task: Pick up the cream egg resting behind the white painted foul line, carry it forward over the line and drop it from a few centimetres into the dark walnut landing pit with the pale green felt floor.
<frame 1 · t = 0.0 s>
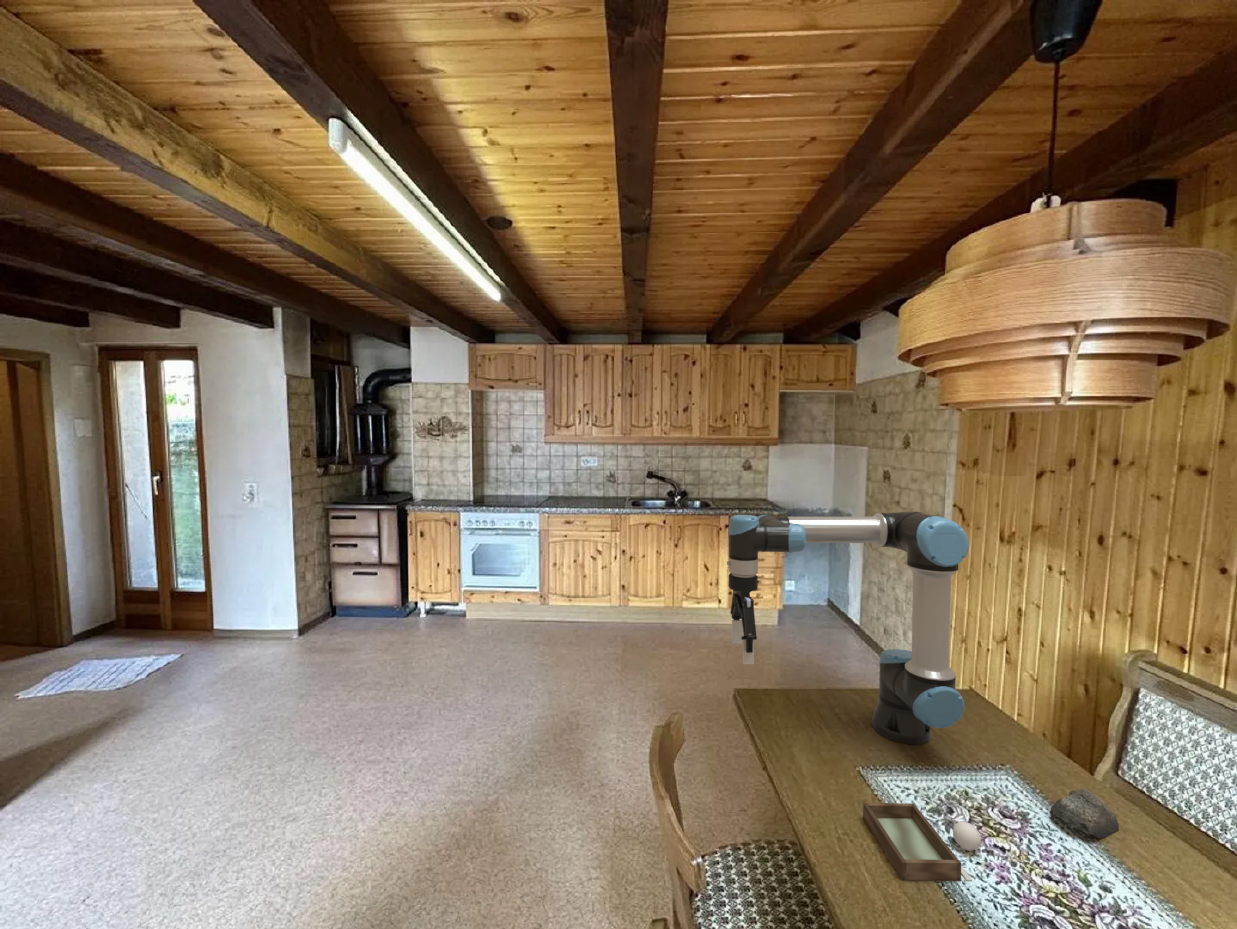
hand: (742, 653, 141), 28 cm above the table, fingers open, 13 cm apart
rock: (1081, 826, 116), on the table
foul line: (943, 847, 110), on the table
cream egg: (966, 849, 110), on the table
pit: (908, 847, 110), on the table
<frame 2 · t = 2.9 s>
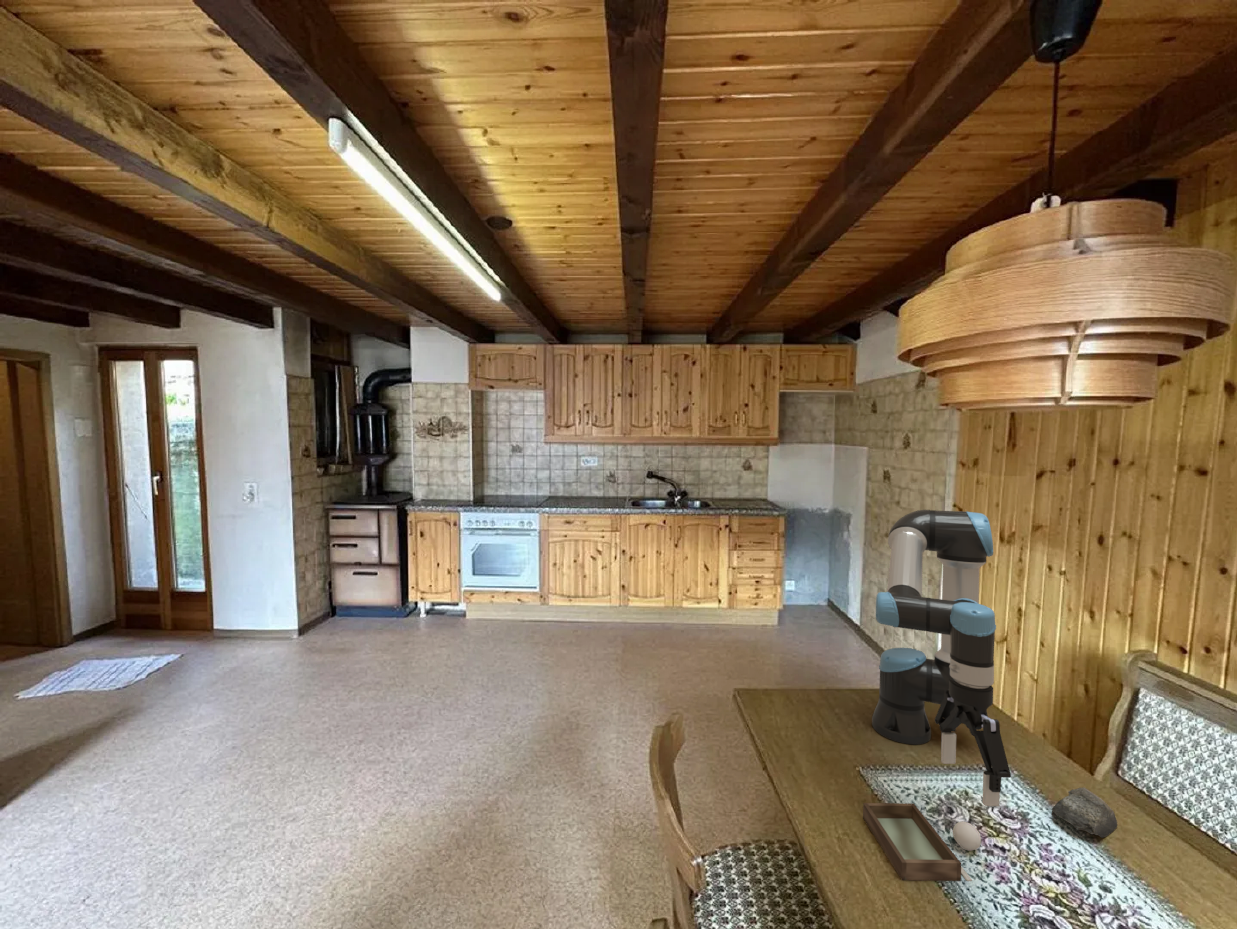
hand: (968, 782, 109), 14 cm above the table, fingers open, 13 cm apart
nothing on the table moved.
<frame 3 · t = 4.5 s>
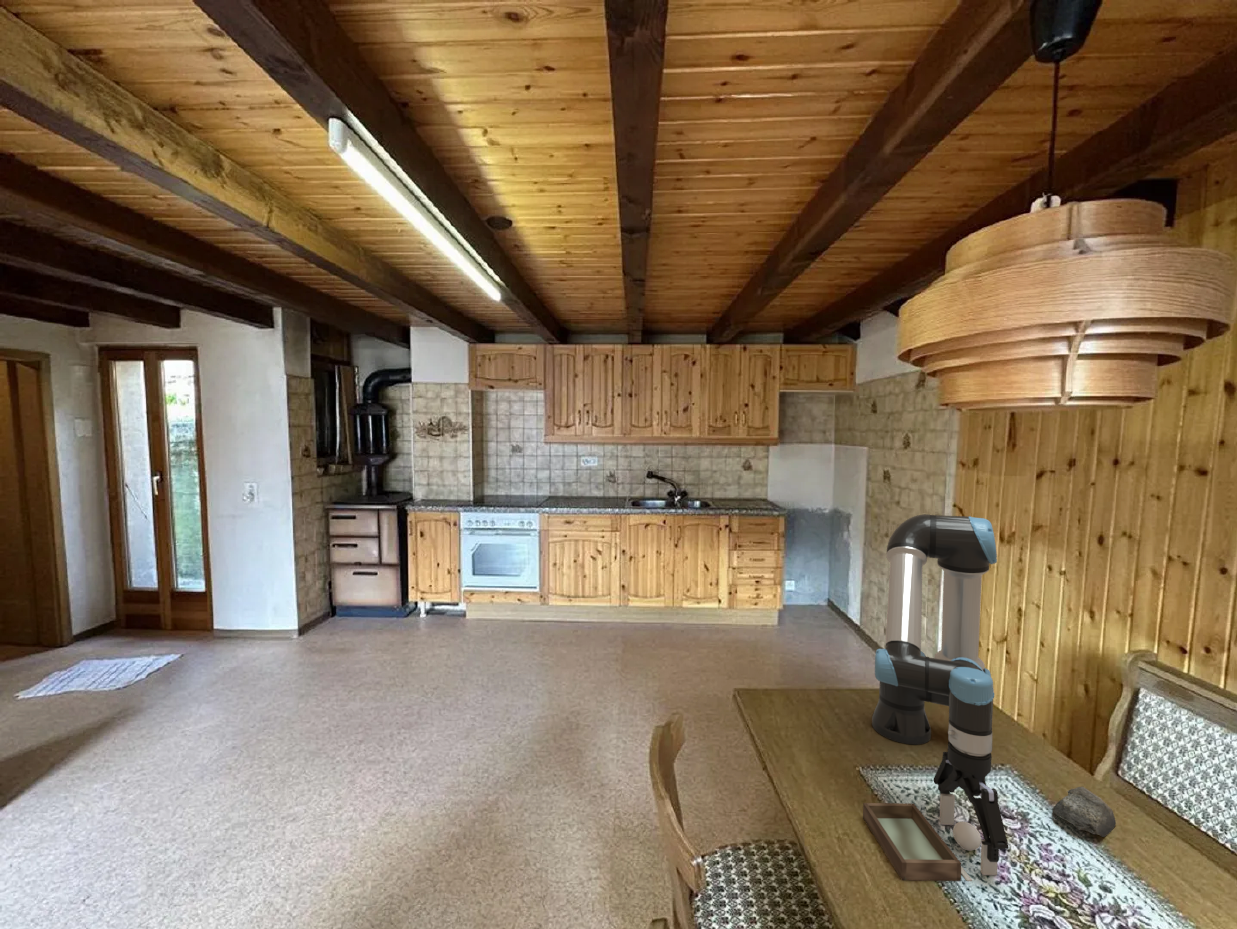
hand: (966, 847, 110), 0 cm above the table, fingers open, 13 cm apart
nothing on the table moved.
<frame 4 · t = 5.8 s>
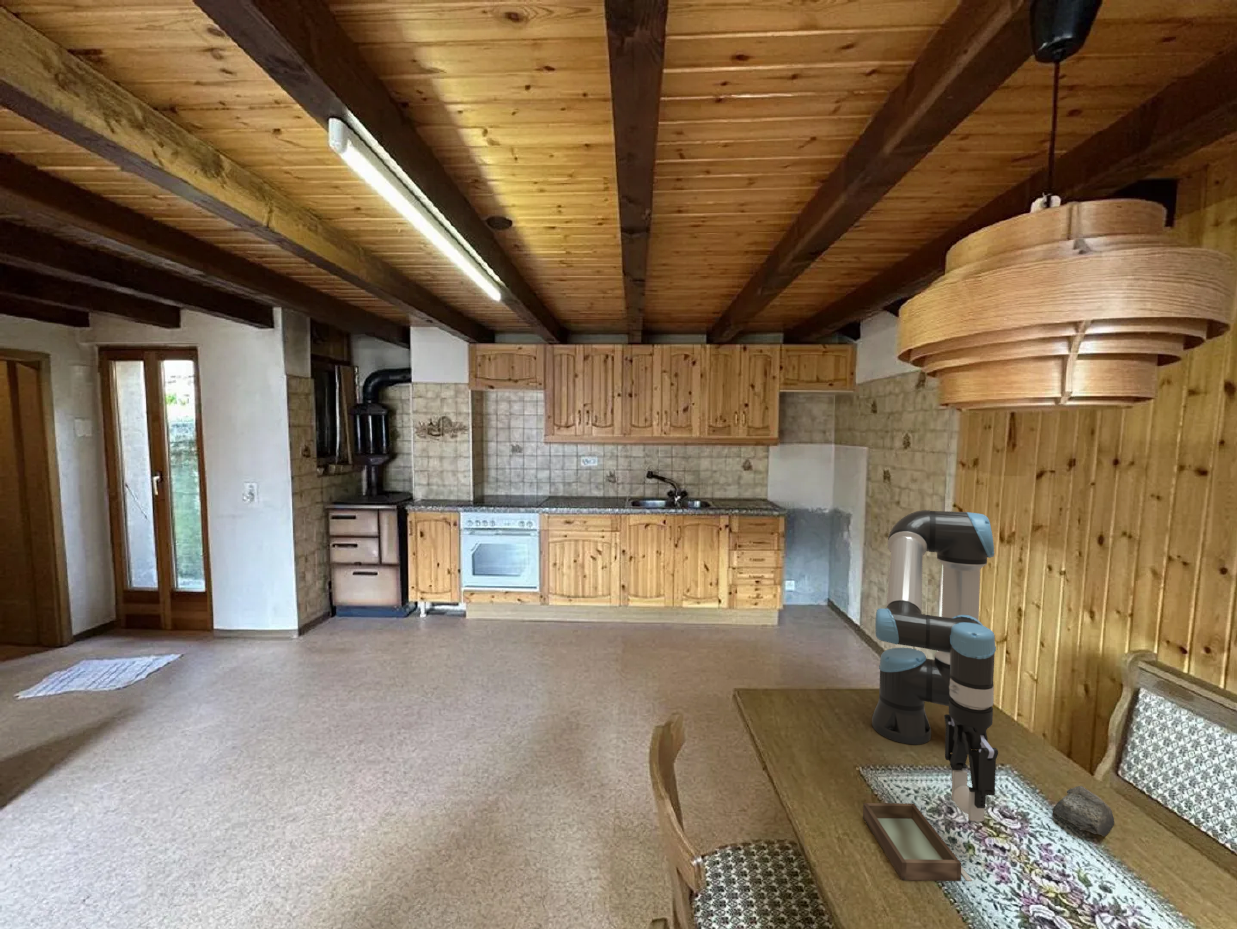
hand: (967, 809, 110), 8 cm above the table, fingers closed on cream egg, 5 cm apart
cream egg: (966, 812, 110), point 7 cm above the table, touching gripper
everything else where it was.
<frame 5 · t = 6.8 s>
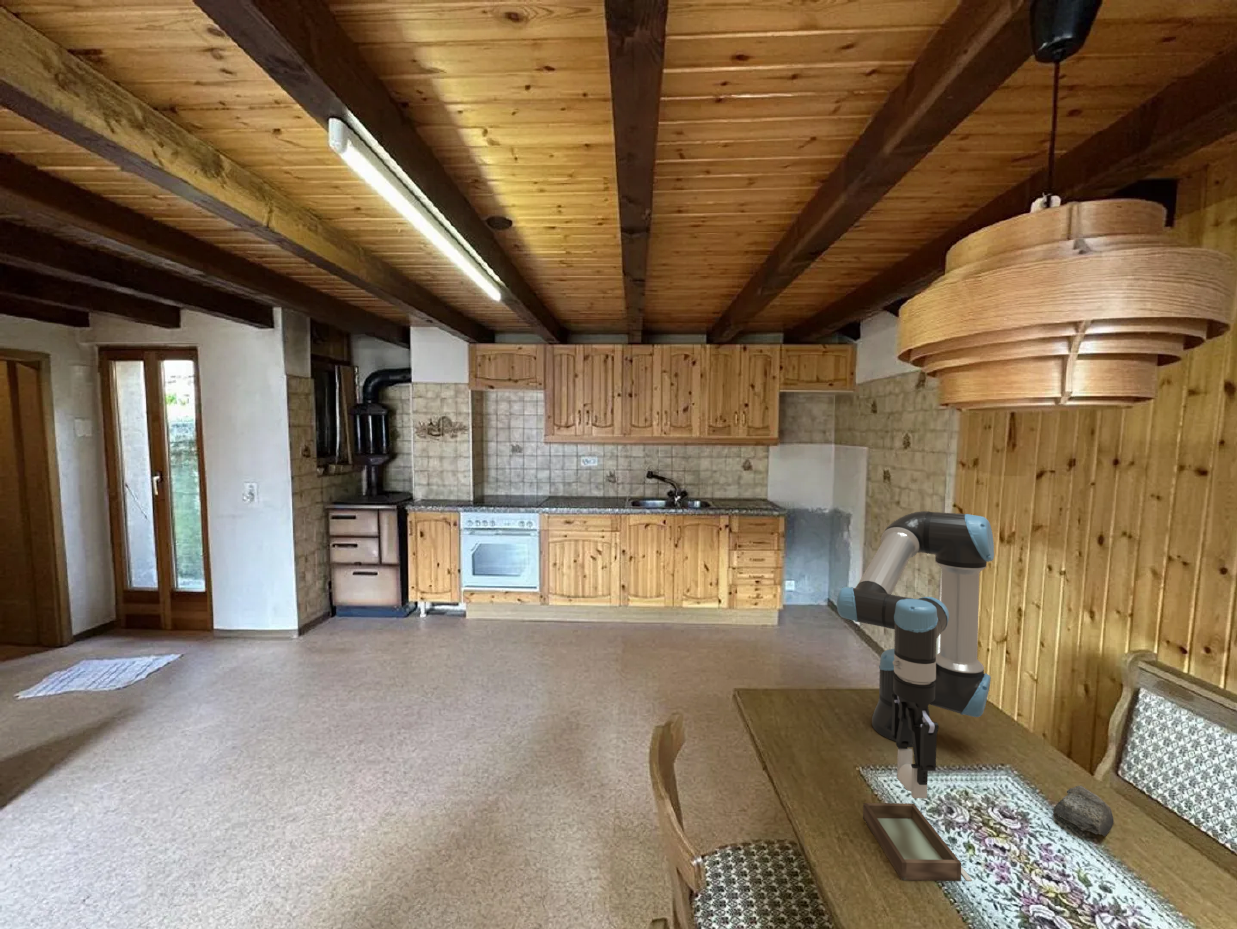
hand: (911, 788, 109), 13 cm above the table, fingers closed on cream egg, 5 cm apart
cream egg: (911, 790, 110), point 12 cm above the table, touching gripper
everything else where it was.
when the fingers open (3 cm above the table, at t = 8.1 s): cream egg drops 2 cm, resting on pit.
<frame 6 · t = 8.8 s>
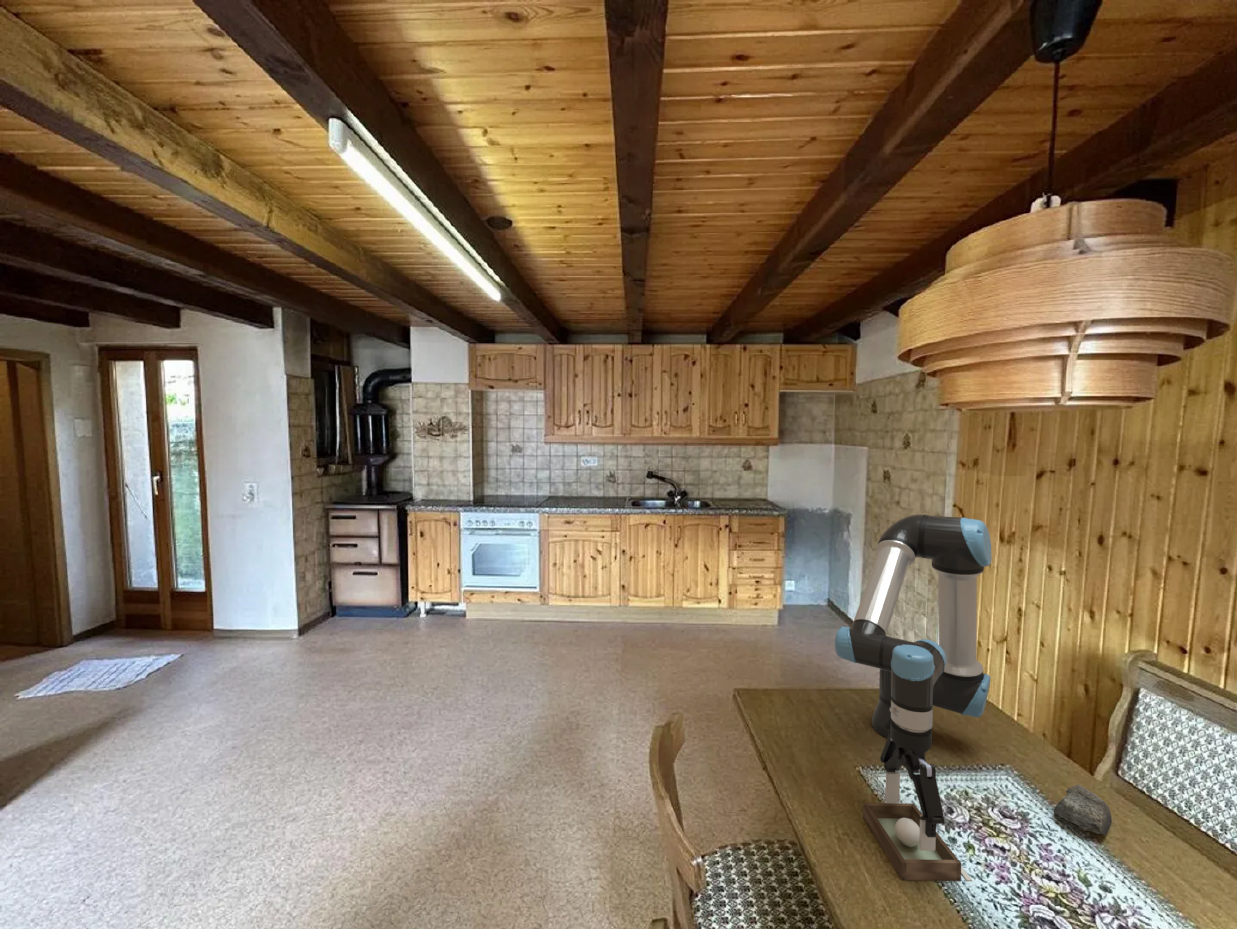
hand: (908, 824, 110), 5 cm above the table, fingers open, 13 cm apart
cream egg: (908, 845, 110), resting on pit
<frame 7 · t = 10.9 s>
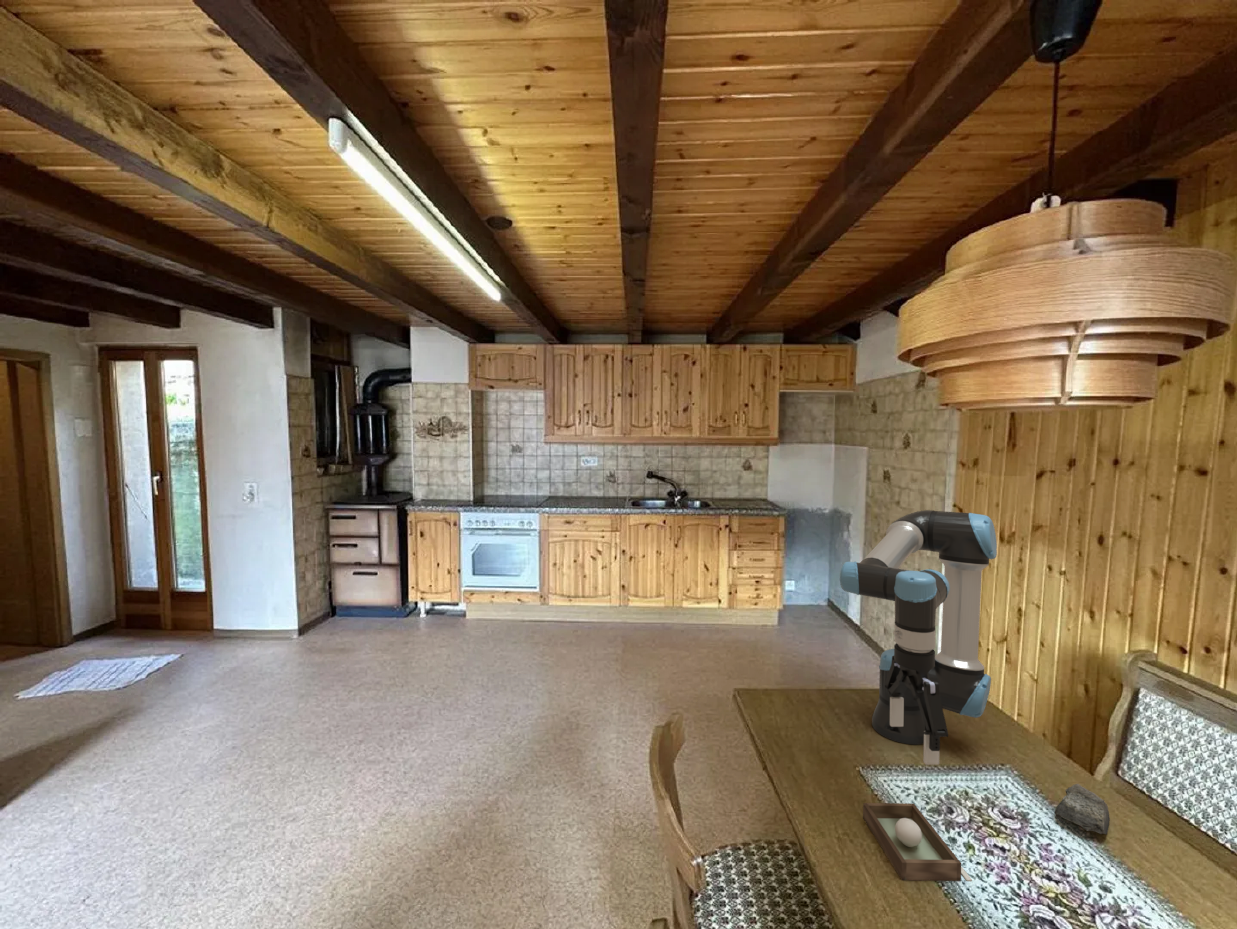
hand: (912, 743, 113), 20 cm above the table, fingers open, 13 cm apart
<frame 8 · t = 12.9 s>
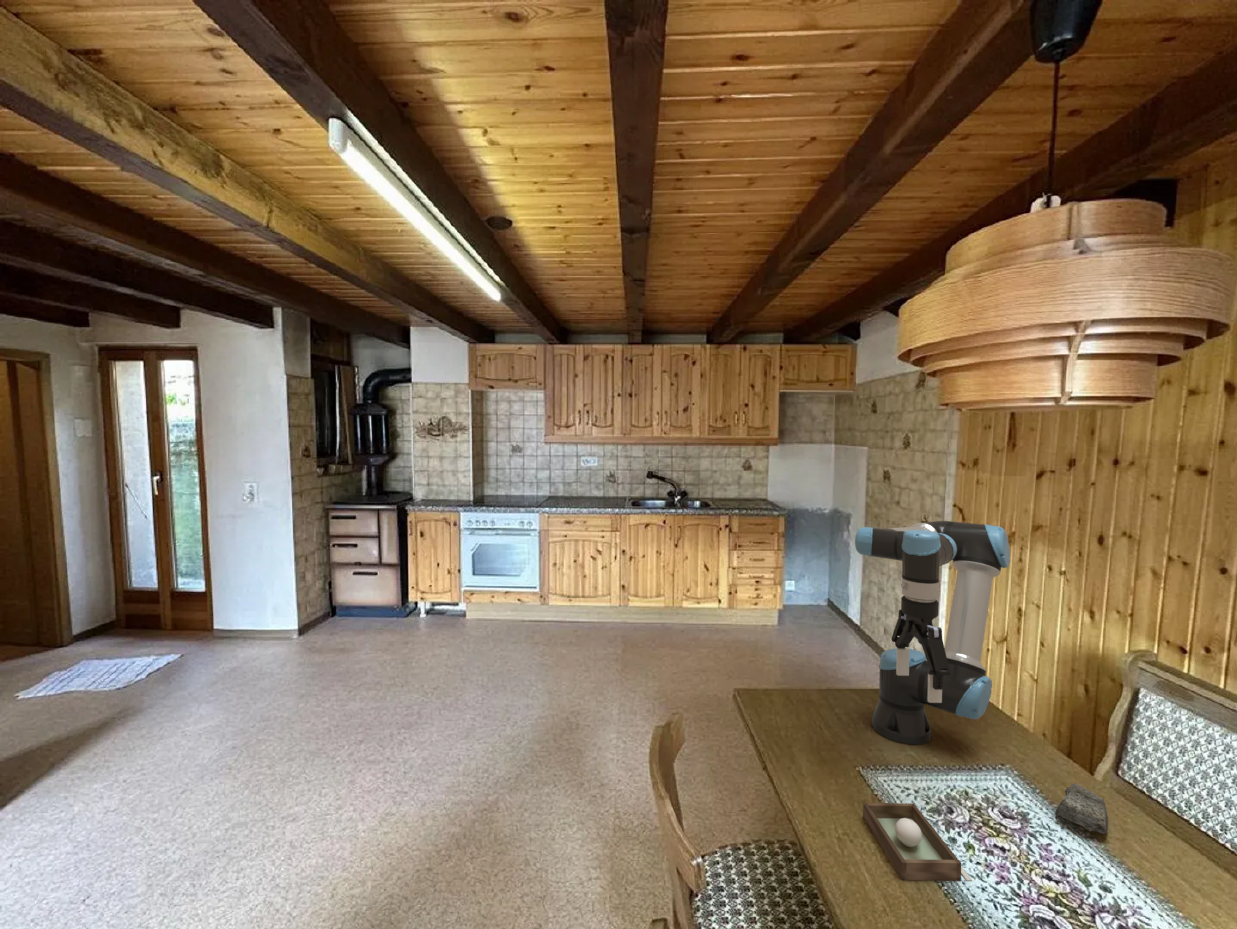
hand: (917, 687, 124), 27 cm above the table, fingers open, 13 cm apart
at the end: cream egg inside the target area on the pit (0.0 cm from its centre), point 0.4 cm above the pit's base; cream egg inside the target area (6.2 cm from its centre), resting on pit; the gripper is holding nothing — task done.
